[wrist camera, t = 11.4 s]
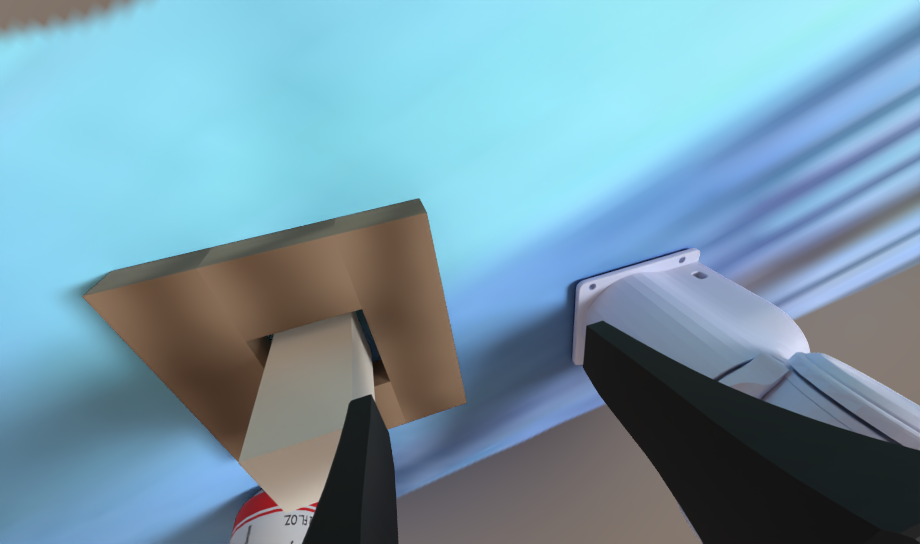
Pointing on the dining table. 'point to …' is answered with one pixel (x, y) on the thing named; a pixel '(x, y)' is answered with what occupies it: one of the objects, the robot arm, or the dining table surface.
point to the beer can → (270, 522)
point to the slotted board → (291, 313)
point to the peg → (305, 407)
